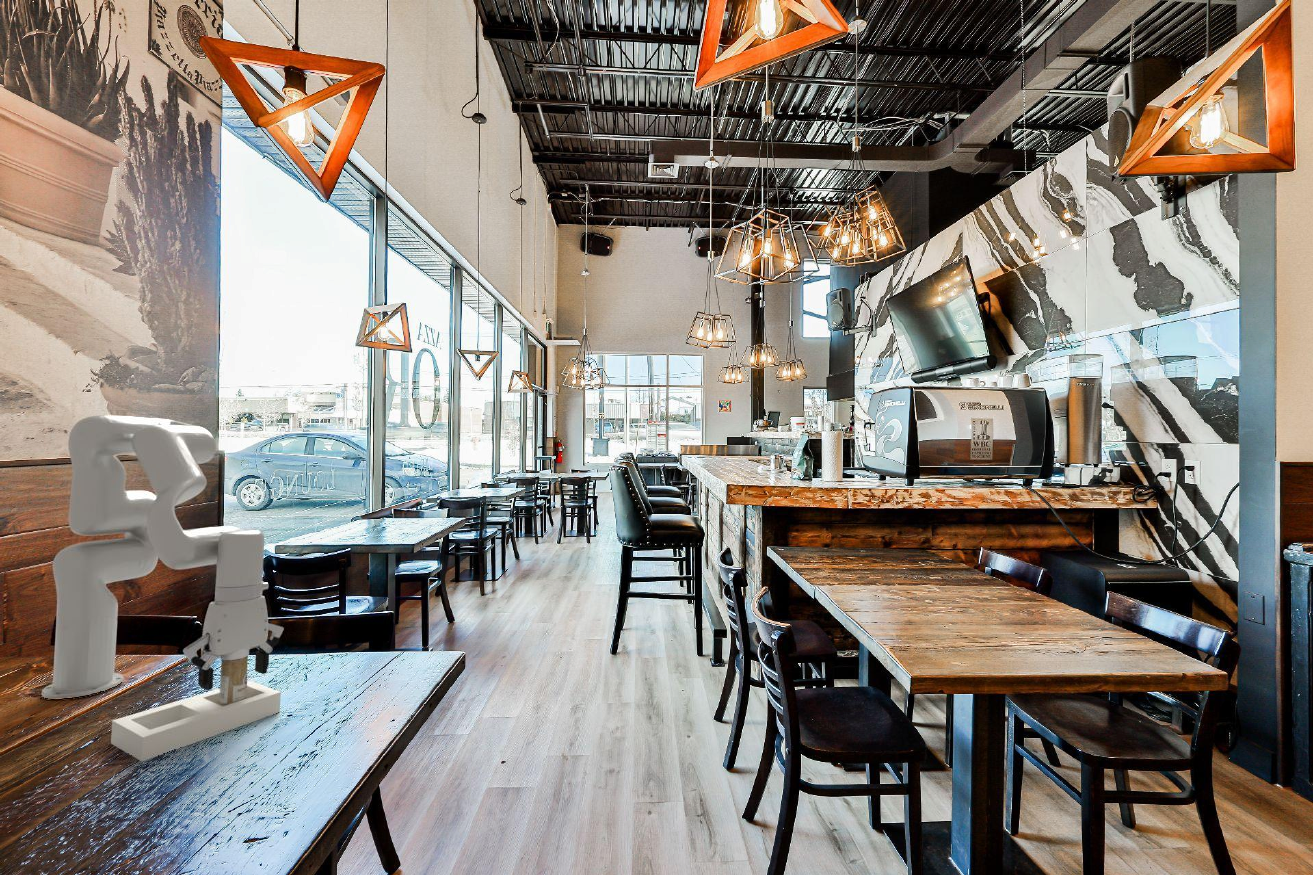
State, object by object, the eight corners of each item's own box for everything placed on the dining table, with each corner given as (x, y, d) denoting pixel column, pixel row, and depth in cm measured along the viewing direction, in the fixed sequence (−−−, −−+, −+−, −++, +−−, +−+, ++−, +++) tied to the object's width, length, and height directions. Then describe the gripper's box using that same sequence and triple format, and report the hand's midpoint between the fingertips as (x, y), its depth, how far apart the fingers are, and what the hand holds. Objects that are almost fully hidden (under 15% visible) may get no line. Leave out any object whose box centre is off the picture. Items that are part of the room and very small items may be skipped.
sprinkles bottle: (246, 717, 113) (249, 648, 114) (216, 723, 111) (220, 652, 111) (246, 709, 117) (249, 641, 118) (218, 714, 115) (221, 645, 115)
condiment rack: (110, 743, 102) (112, 720, 102) (247, 699, 122) (248, 680, 122) (141, 761, 97) (143, 737, 97) (279, 712, 116) (280, 692, 116)
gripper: (274, 582, 124) (270, 663, 124) (177, 599, 109) (172, 691, 108) (294, 587, 121) (290, 670, 120) (197, 604, 105) (192, 700, 105)
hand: (234, 680), depth 114 cm, fingers open, 9 cm apart
